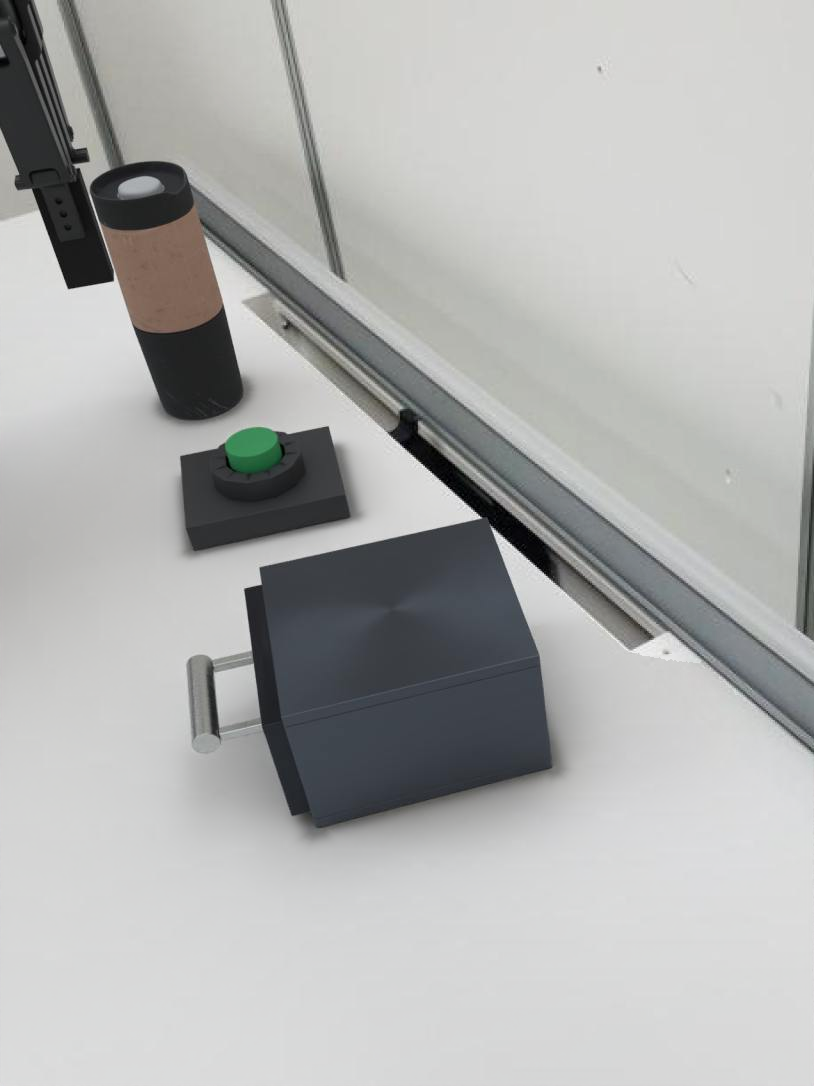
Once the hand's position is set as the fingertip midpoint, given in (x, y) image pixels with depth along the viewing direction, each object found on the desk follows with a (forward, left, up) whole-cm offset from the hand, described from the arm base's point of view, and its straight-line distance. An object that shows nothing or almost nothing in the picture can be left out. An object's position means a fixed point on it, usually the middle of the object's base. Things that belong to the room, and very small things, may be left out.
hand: (91, 279), depth 78 cm
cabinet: (+19, +13, -24) cm, 34 cm away
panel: (-9, +6, -24) cm, 27 cm away
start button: (-9, +6, -21) cm, 23 cm away
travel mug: (-26, +2, -25) cm, 36 cm away
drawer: (+19, +9, -24) cm, 32 cm away
